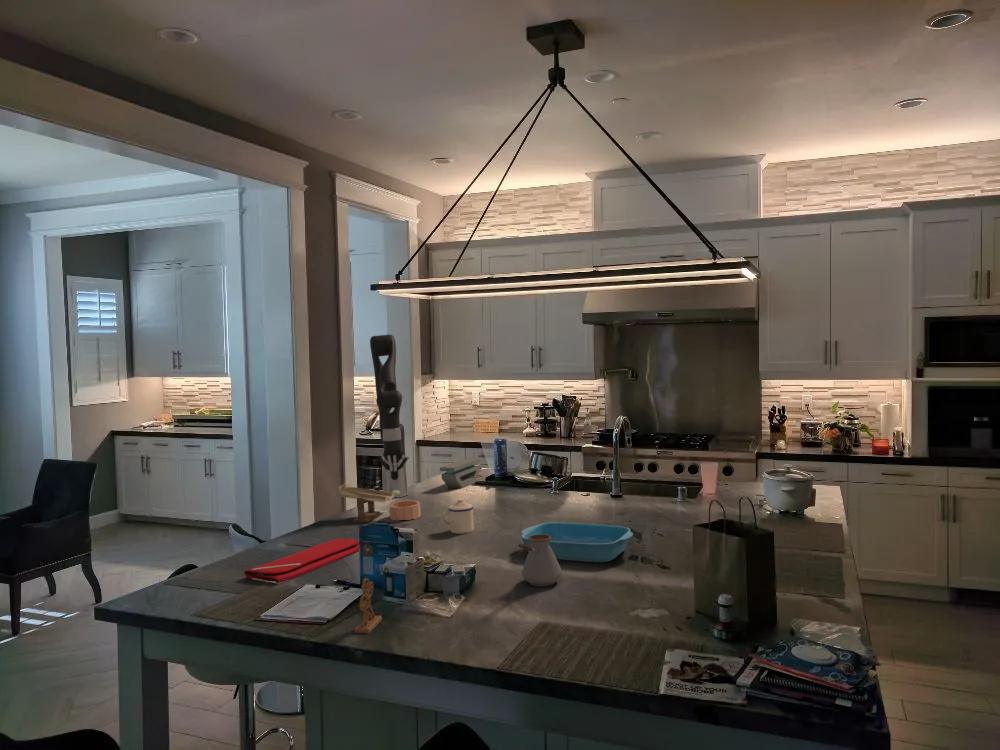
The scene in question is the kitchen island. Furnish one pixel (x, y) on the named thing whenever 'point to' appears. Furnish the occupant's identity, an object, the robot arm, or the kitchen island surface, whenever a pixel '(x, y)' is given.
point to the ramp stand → (368, 514)
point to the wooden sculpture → (368, 618)
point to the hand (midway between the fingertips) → (395, 479)
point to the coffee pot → (540, 562)
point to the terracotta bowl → (405, 510)
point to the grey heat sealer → (460, 473)
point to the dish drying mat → (304, 561)
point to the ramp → (366, 493)
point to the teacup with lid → (460, 517)
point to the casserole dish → (582, 540)
